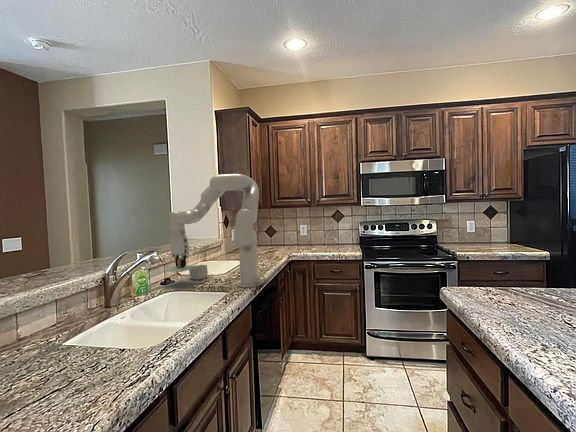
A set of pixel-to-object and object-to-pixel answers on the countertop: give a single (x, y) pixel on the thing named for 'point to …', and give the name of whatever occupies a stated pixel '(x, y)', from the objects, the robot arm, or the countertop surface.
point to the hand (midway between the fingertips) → (181, 266)
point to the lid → (179, 268)
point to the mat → (180, 285)
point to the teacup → (198, 272)
